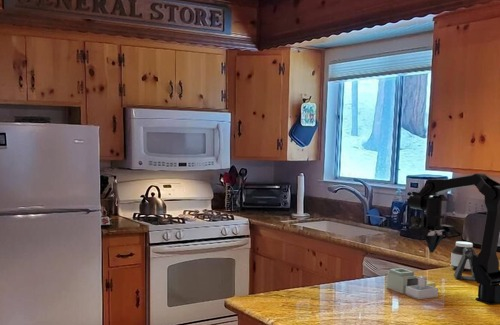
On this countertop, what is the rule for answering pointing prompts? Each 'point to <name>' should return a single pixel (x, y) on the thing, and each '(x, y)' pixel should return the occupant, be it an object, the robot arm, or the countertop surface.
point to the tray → (421, 292)
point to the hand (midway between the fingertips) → (431, 252)
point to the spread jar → (458, 253)
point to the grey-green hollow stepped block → (401, 279)
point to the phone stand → (462, 264)
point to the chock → (431, 283)
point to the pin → (422, 283)
